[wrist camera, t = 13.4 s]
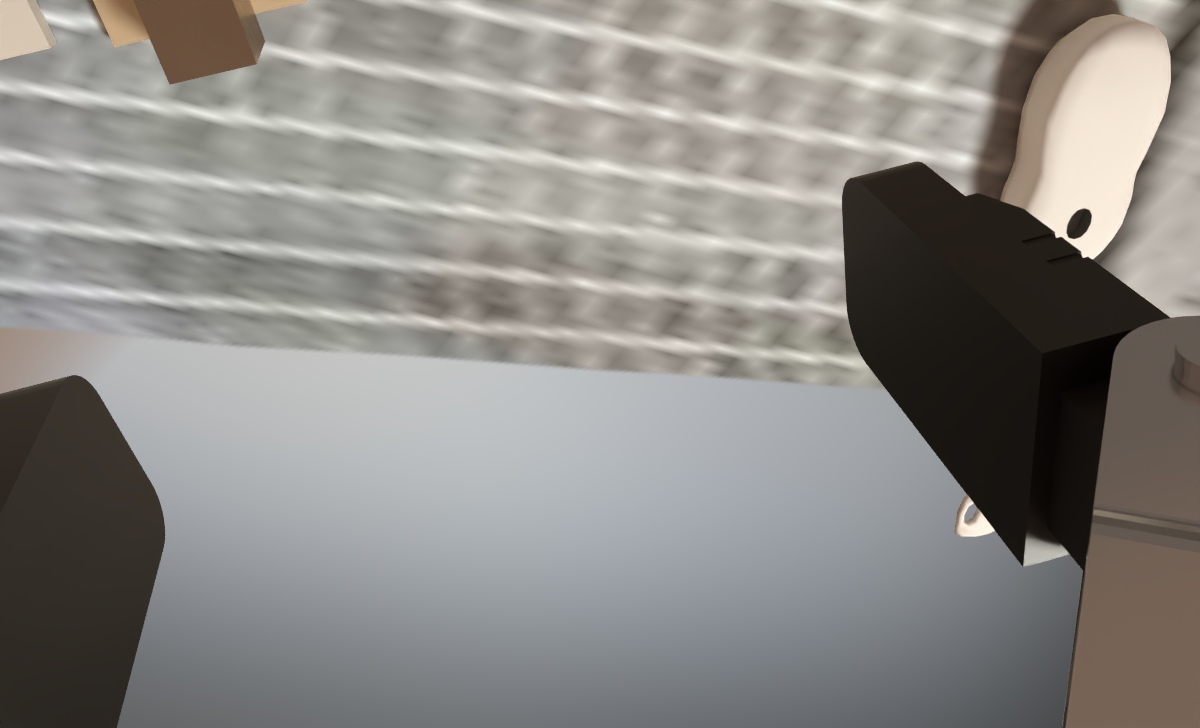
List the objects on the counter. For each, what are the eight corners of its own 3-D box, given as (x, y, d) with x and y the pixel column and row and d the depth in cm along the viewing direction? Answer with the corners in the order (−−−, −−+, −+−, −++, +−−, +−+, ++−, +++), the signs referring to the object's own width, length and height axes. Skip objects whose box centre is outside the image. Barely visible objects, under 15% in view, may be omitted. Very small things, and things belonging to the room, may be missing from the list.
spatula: (996, 500, 58) (1023, 533, 56) (906, 510, 57) (929, 544, 55) (1156, 7, 43) (1201, 23, 40) (1037, 8, 42) (1077, 25, 39)
